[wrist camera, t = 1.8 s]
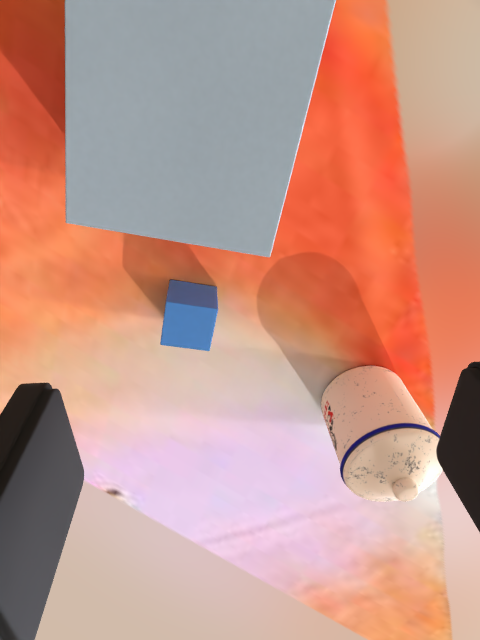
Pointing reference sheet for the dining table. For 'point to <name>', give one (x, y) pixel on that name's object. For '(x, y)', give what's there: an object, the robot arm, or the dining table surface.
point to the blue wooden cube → (189, 315)
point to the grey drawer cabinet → (188, 115)
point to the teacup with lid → (380, 435)
